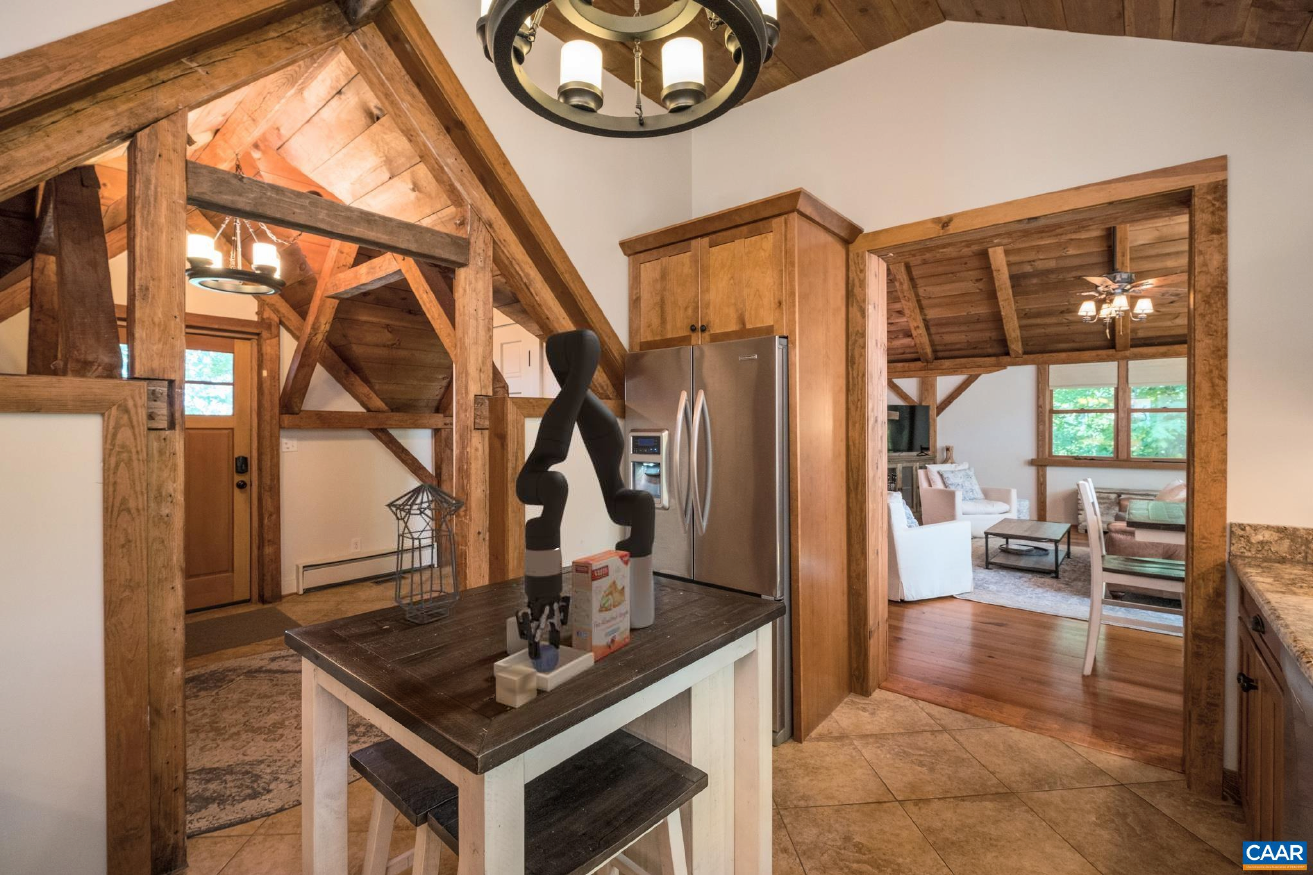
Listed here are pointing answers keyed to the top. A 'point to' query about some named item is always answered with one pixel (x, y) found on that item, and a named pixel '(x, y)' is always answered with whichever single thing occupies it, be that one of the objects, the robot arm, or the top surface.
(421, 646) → the top surface
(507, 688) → the wooden block
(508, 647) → the grey rounded cylinder
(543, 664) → the decorative dice
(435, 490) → the geometric lantern
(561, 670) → the tray
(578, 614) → the cracker box
